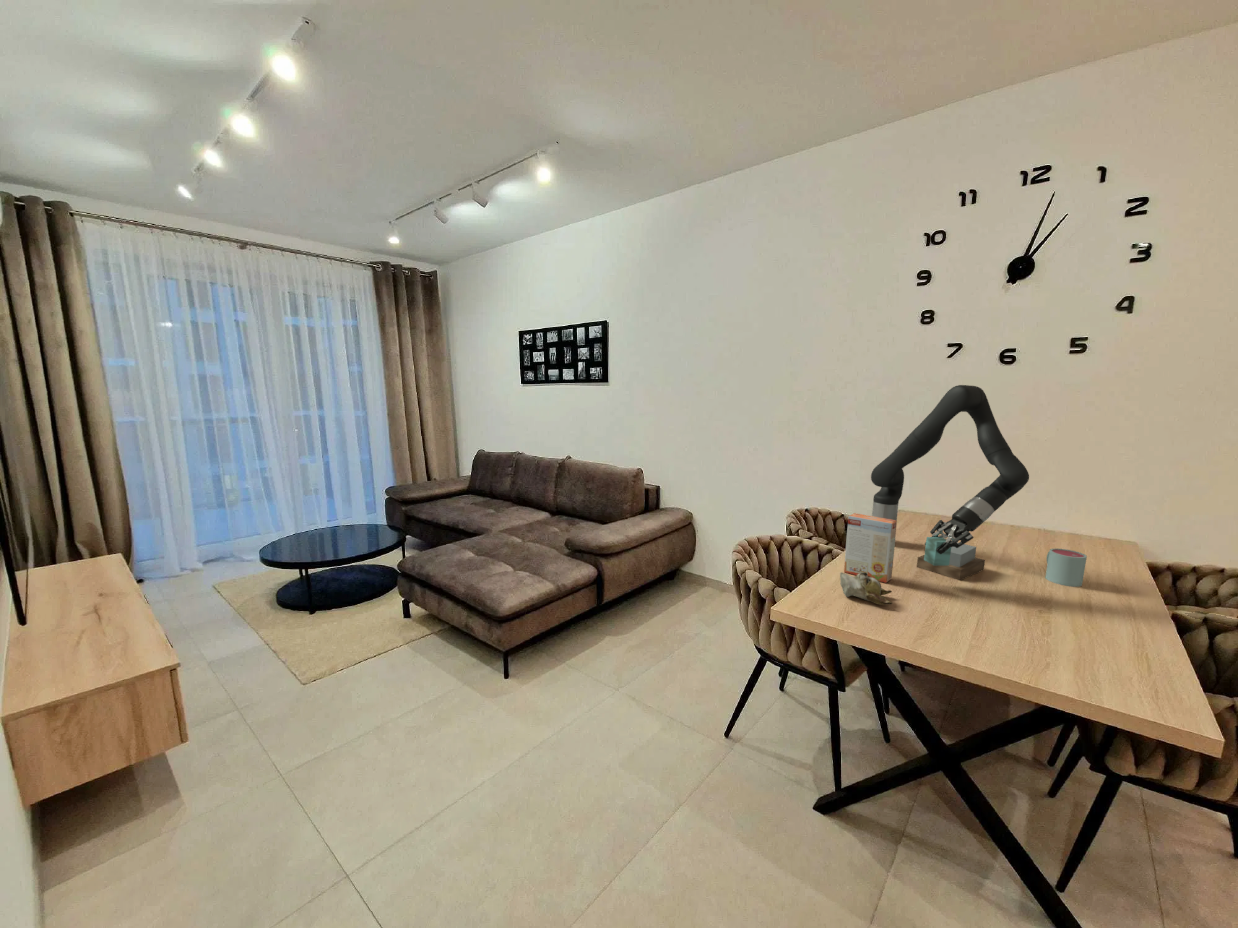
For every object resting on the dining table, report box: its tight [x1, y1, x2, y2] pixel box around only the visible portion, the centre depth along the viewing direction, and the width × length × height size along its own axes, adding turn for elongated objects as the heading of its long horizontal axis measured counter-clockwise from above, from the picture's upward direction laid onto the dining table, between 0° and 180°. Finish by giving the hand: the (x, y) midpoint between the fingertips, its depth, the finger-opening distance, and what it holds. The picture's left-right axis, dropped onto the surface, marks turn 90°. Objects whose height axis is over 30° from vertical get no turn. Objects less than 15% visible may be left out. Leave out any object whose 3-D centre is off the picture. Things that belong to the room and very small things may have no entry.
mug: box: [1045, 548, 1088, 588], centre depth 166 cm, size 14×9×10 cm
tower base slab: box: [916, 554, 986, 581], centre depth 175 cm, size 14×18×4 cm
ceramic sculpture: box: [839, 571, 893, 606], centre depth 150 cm, size 11×9×15 cm
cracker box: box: [843, 512, 898, 584], centre depth 167 cm, size 14×6×21 cm, turn 45°
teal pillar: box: [923, 536, 951, 566], centre depth 160 cm, size 5×5×8 cm
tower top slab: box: [949, 542, 977, 567], centre depth 175 cm, size 11×14×4 cm
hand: (932, 549), depth 160 cm, fingers closed on teal pillar, 5 cm apart
